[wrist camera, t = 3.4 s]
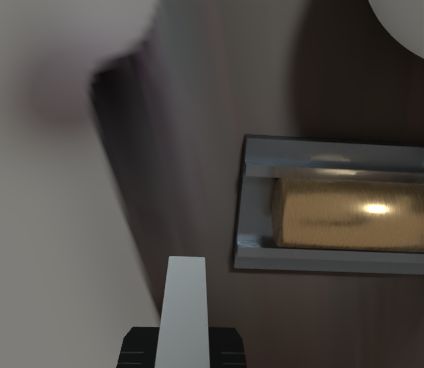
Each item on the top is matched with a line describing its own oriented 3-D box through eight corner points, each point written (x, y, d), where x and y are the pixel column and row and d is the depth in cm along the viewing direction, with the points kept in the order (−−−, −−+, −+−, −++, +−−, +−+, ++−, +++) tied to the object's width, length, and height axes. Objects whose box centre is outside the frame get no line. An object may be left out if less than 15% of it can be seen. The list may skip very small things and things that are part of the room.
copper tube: (270, 241, 22) (287, 253, 18) (273, 177, 23) (290, 174, 18) (452, 249, 23) (508, 261, 19) (454, 186, 23) (510, 185, 19)
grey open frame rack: (245, 134, 22) (248, 141, 20) (595, 153, 23) (626, 161, 21) (232, 259, 25) (235, 275, 23) (541, 270, 26) (565, 286, 25)
